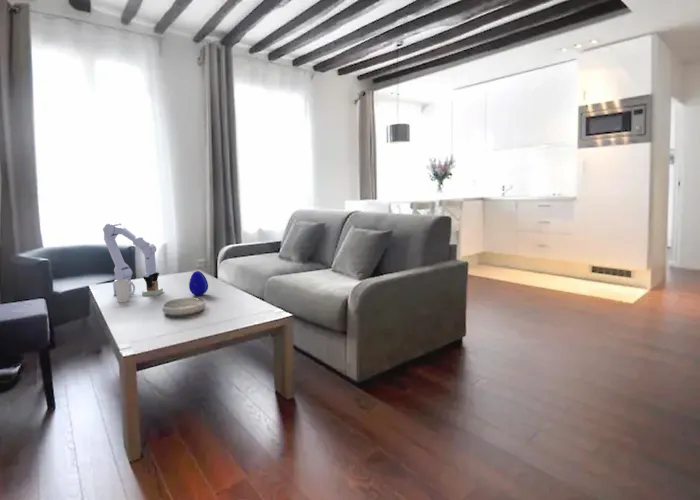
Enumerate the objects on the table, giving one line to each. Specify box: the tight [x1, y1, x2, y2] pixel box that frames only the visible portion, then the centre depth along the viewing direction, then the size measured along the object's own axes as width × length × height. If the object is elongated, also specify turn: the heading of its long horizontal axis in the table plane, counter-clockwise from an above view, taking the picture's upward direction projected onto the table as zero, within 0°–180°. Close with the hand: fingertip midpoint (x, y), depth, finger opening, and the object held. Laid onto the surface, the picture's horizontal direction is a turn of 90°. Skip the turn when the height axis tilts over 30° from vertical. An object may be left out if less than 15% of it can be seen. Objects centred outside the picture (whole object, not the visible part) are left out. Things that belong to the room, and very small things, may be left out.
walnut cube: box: [145, 280, 159, 291], centre depth 263 cm, size 5×5×5 cm
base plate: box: [141, 287, 164, 297], centre depth 263 cm, size 9×9×3 cm
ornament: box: [188, 270, 209, 296], centre depth 258 cm, size 11×9×15 cm
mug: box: [114, 279, 136, 303], centre depth 248 cm, size 10×7×12 cm, turn 119°
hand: (152, 286), depth 263 cm, fingers open, 7 cm apart
